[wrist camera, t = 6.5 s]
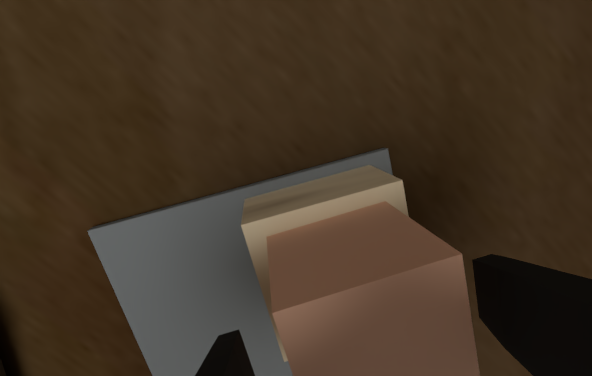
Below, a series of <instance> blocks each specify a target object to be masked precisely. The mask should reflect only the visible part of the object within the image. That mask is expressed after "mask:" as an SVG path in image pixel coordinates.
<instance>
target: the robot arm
mask: <svg viewBox="0 0 592 376" xmlns="http://www.w3.org/2000/svg"><path fill="white" fill-rule="evenodd" d="M472 261H473V270H474V278H475V286H476V295H477V303H478V311H479V318H480V319H481V320H482V321H483V322H484V324H485V325H486V326H487V327H488V329H489V330H490V331H491V332H492V334H493V335H494V336H495V337H496V338H497V340H498V341H499V342H500V343H501V344H502V345H503V347H504V348H505V349H506V350H507V351H508V352H509V353H510V354H511V355H512V356H513V357H514V358H515V359H517V360H518V361H519V362H520V363H521V364H522V365H523V366H524V367H525V368H526V369H527V370H528V371H529V372H530V373H531V374H532V375H533V376H592V279H588V278H584V277H580V276H577V275H573V274H569V273H565V272H561V271H557V270H554V269H550V268H546V267H542V266H539V265H535V264H531V263H527V262H523V261H519V260H515V259H512V258H507V257H503V256H498V255H493V254H490V255H487V256H484V257H480V258H477V259H474V260H472ZM195 376H255V374H254V371H253V368H252V365H251V362H250V359H249V356H248V354H247V351H246V348H245V345H244V342H243V339H242V336H241V334H240V331H239V329H238V330H235V331H232V332H228V333H225V334H222V335H218V337H217V339H216V340H215V342H214V344H213V345H212V347H211V349H210V351H209V352H208V354H207V356H206V357H205V359H204V361H203V363H202V364H201V366H200V368H199V370H198V371H197V373H196V375H195Z"/></svg>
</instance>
